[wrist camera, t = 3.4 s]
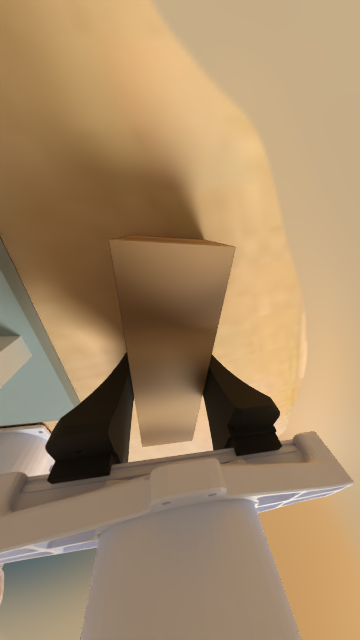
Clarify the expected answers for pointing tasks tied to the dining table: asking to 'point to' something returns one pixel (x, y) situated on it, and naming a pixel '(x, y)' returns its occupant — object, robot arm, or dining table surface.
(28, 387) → the ridge stand
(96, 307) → the dining table surface
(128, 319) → the walnut bar
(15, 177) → the dining table surface
